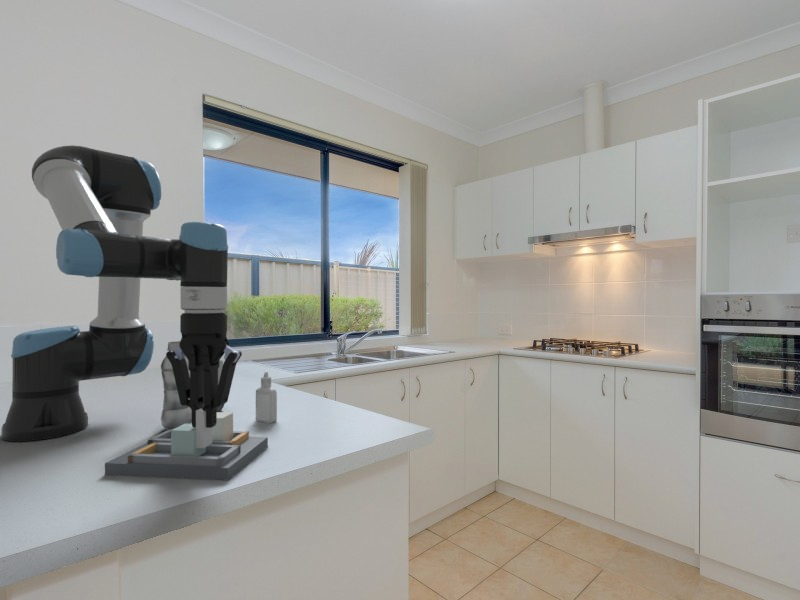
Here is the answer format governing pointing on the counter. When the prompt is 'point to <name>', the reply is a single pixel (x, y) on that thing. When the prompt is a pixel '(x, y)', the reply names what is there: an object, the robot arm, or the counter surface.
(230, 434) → the tab
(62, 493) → the counter surface
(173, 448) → the tab
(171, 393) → the plastic bottle
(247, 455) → the dark grey divided tray
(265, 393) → the eye dropper bottle
